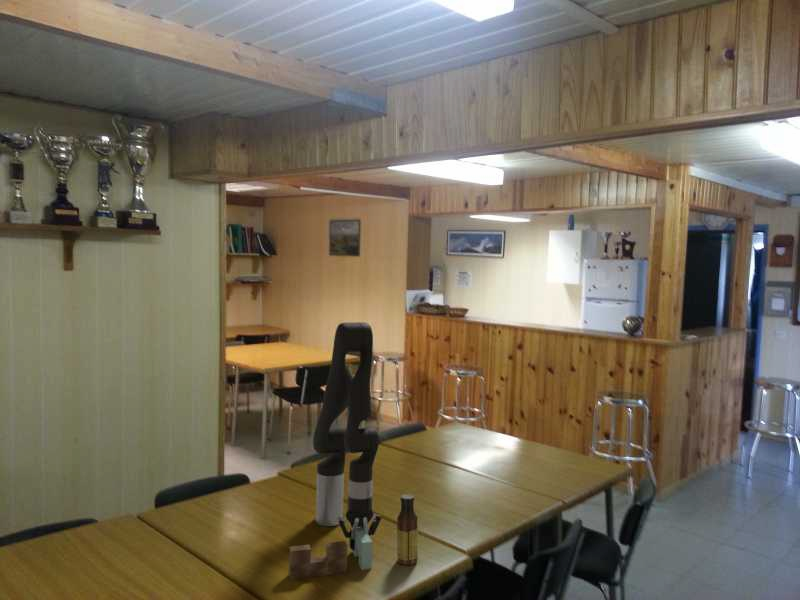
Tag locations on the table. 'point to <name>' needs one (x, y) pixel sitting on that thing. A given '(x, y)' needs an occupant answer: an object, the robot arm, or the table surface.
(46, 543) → the table surface
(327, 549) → the walnut u-shaped block
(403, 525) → the sauce bottle
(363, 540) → the teal board
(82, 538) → the table surface
